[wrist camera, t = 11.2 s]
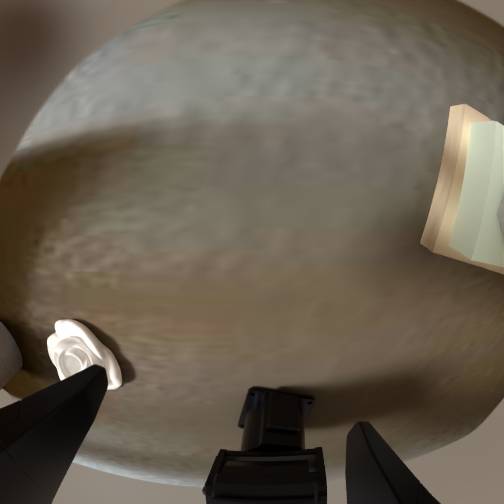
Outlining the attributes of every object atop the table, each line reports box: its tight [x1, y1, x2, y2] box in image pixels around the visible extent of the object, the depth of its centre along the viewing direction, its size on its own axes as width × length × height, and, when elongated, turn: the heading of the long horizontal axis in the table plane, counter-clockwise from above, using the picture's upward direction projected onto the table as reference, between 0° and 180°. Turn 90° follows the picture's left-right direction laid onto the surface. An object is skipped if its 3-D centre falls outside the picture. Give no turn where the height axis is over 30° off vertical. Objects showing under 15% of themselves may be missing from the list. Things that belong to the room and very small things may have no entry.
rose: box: [47, 319, 122, 389], centre depth 24 cm, size 10×4×10 cm
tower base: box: [420, 104, 504, 274], centre depth 17 cm, size 11×11×3 cm
